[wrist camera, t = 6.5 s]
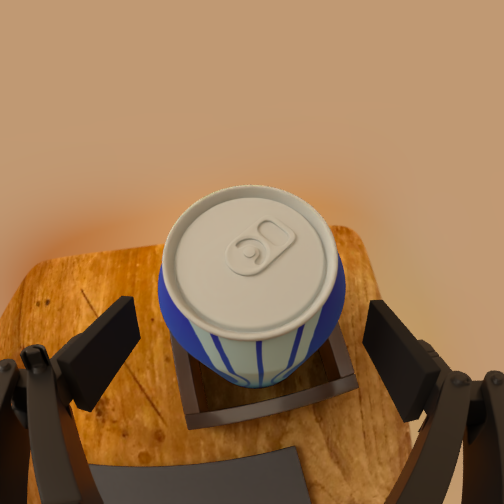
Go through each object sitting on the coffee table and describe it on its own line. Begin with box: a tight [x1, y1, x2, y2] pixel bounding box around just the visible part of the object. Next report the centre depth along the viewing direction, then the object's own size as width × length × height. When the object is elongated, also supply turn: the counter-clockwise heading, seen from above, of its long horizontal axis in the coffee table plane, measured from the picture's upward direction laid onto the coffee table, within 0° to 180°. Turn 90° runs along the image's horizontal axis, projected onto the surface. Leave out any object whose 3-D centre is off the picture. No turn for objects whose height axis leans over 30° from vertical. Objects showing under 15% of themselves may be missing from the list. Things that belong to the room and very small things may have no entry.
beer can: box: [158, 185, 346, 389], centre depth 17 cm, size 8×8×16 cm
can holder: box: [170, 322, 359, 430], centre depth 22 cm, size 13×13×4 cm
